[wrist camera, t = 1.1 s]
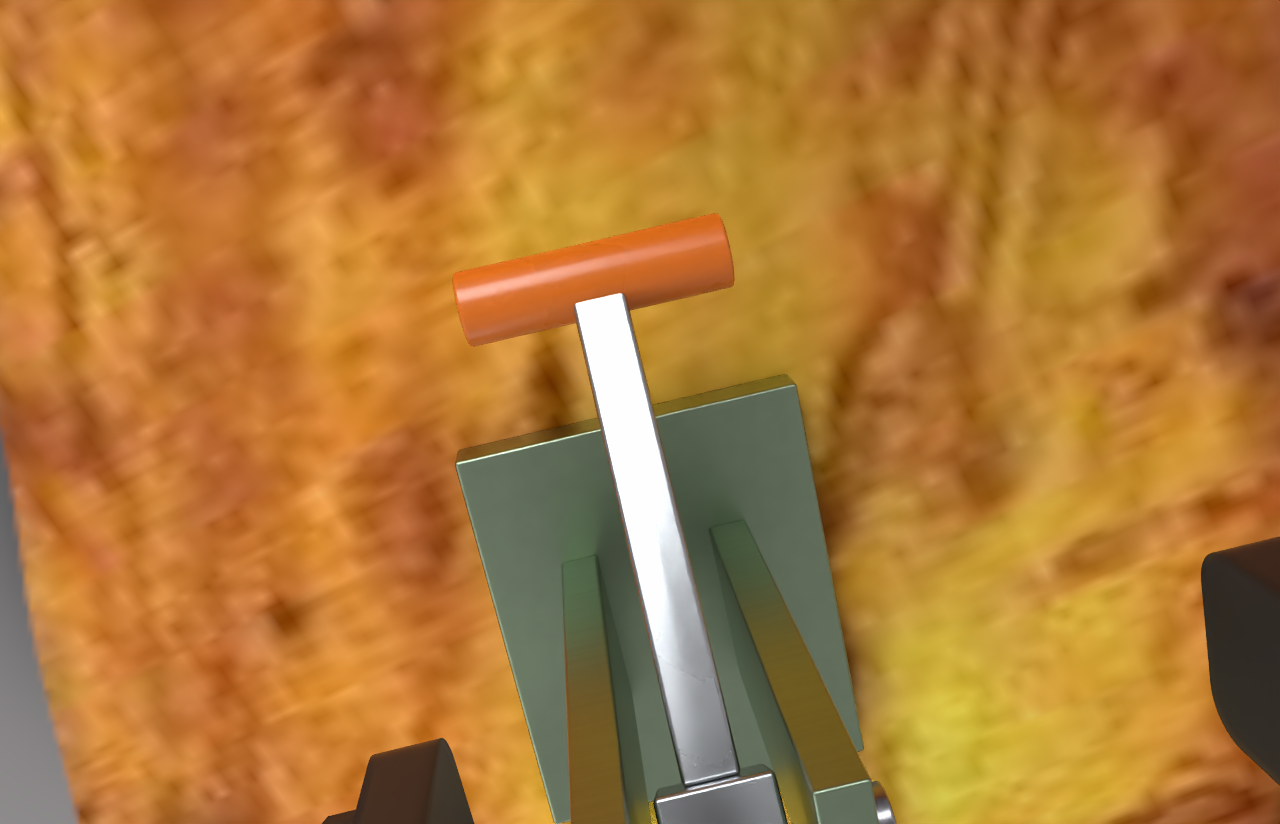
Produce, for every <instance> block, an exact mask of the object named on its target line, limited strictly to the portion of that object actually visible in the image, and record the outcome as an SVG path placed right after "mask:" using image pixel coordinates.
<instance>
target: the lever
mask: <svg viewBox="0 0 1280 824" xmlns="http://www.w3.org/2000/svg"><path fill="white" fill-rule="evenodd" d="M733 285H734V267H733V260H732V255H731V250H730V245H729V241H728V237H727V233H726V230H725V227H724V224H723V221H722V219H721V217H720V216H719V214H717V213H713V214H709V215H704V216H700V217H696V218H691V219H687V220H682V221H678V222H674V223H669V224H665V225H661V226H656V227H652V228H648V229H643V230H639V231H635V232H630V233H626V234H622V235H617V236H613V237H608V238H604V239H600V240H595V241H591V242H587V243H582V244H578V245H574V246H569V247H565V248H561V249H556V250H552V251H547V252H543V253H539V254H534V255H530V256H526V257H521V258H517V259H513V260H508V261H504V262H500V263H495V264H491V265H486V266H482V267H478V268H473V269H469V270H465V271H460V272H456V273H455V274H453V289H454V295H455V300H456V305H457V309H458V313H459V317H460V321H461V324H462V327H463V331H464V333H465V336H466V339H467V341H468V343H469V344H470V346H473V347H474V346H479V345H483V344H487V343H492V342H496V341H500V340H505V339H509V338H513V337H518V336H522V335H526V334H531V333H535V332H539V331H543V330H548V329H552V328H556V327H561V326H565V325H569V324H574V323H577V328H578V332H579V337H580V341H581V345H582V350H583V354H584V358H585V363H586V367H587V372H588V376H589V380H590V385H591V389H592V393H593V398H594V402H595V407H596V411H597V415H598V420H599V424H600V428H601V433H602V437H603V442H604V446H605V450H606V455H607V459H608V463H609V468H610V472H611V476H612V481H613V485H614V490H615V494H616V498H617V503H618V507H619V511H620V516H621V520H622V525H623V529H624V533H625V538H626V542H627V546H628V551H629V555H630V560H631V564H632V568H633V573H634V577H635V581H636V586H637V590H638V595H639V599H640V603H641V608H642V612H643V616H644V621H645V625H646V630H647V634H648V638H649V643H650V647H651V651H652V656H653V660H654V665H655V669H656V673H657V678H658V682H659V686H660V691H661V695H662V700H663V704H664V708H665V713H666V717H667V721H668V726H669V730H670V735H671V739H672V743H673V748H674V752H675V756H676V761H677V765H678V770H679V774H680V778H681V783H678V784H674V785H670V786H665V787H661V788H659V789H658V790H657V791H656V795H655V798H654V803H653V804H654V809H655V813H656V818H657V822H658V824H788V823H787V819H786V815H785V811H784V807H783V803H782V799H781V795H780V791H779V787H778V783H777V778H776V774H775V773H774V772H773V771H772V770H771V769H770V768H769V767H767V766H766V765H765V764H757V765H753V766H749V767H745V768H740V765H739V761H738V756H737V752H736V748H735V744H734V740H733V736H732V732H731V728H730V723H729V719H728V715H727V711H726V707H725V703H724V699H723V694H722V690H721V686H720V682H719V678H718V674H717V670H716V666H715V661H714V657H713V653H712V649H711V645H710V641H709V637H708V632H707V628H706V624H705V620H704V616H703V612H702V608H701V603H700V599H699V595H698V591H697V587H696V583H695V579H694V575H693V570H692V566H691V562H690V558H689V554H688V550H687V546H686V541H685V537H684V533H683V529H682V525H681V521H680V517H679V513H678V508H677V504H676V500H675V496H674V492H673V488H672V484H671V479H670V475H669V471H668V467H667V463H666V459H665V455H664V450H663V446H662V442H661V438H660V434H659V430H658V426H657V422H656V417H655V413H654V409H653V405H652V401H651V397H650V393H649V388H648V384H647V380H646V376H645V372H644V368H643V364H642V359H641V355H640V351H639V347H638V343H637V339H636V335H635V331H634V326H633V322H632V318H631V314H630V310H634V309H639V308H643V307H647V306H652V305H656V304H660V303H665V302H669V301H673V300H678V299H682V298H686V297H691V296H695V295H699V294H704V293H708V292H712V291H717V290H721V289H725V288H730V287H732V286H733Z"/></svg>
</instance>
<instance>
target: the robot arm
mask: <svg viewBox="0 0 1280 824" xmlns="http://www.w3.org/2000/svg"><path fill="white" fill-rule="evenodd" d="M1201 584H1202V595H1203V606H1204V617H1205V627H1206V638H1207V649H1208V660H1209V671H1210V682H1211V690H1212V695H1213V699H1214V702H1215V705H1216V708H1217V711H1218V714H1219V716H1220V718H1221V720H1222V722H1223V724H1224V726H1225V728H1226V730H1227V732H1228V733H1229V735H1230V736H1231V738H1232V739H1233V740H1234V742H1235V743H1236V744H1237V745H1238V747H1239V748H1240V749H1241V750H1242V751H1243V752H1244V753H1246V754H1247V755H1248V756H1249V757H1250V758H1251V759H1252V760H1253V761H1254V762H1255V763H1256V764H1257V765H1258V766H1260V767H1261V768H1262V769H1263V770H1264V771H1265V772H1266V773H1267V774H1268V775H1269V776H1270V777H1271V778H1272V779H1273V780H1275V781H1276V782H1277V783H1278V784H1279V785H1280V537H1275V538H1271V539H1267V540H1263V541H1259V542H1255V543H1251V544H1247V545H1243V546H1238V547H1234V548H1230V549H1226V550H1222V551H1218V552H1214V553H1211V554H1209V555H1207V556H1206V558H1205V559H1204V561H1203V564H1202V569H1201ZM322 824H474V821H473V818H472V815H471V812H470V808H469V805H468V802H467V799H466V795H465V792H464V789H463V786H462V782H461V779H460V776H459V773H458V769H457V766H456V763H455V760H454V757H453V754H452V751H451V749H450V747H449V745H448V743H447V742H446V740H445V739H443V738H440V739H436V740H432V741H428V742H423V743H419V744H415V745H411V746H407V747H403V748H399V749H395V750H390V751H386V752H382V753H378V754H374V755H372V756H371V758H370V760H369V763H368V766H367V770H366V774H365V778H364V782H363V785H362V789H361V793H360V797H359V801H358V804H357V808H356V810H353V811H348V812H344V813H340V814H336V815H332V816H328V817H327V818H326V819H325V821H324V822H323V823H322Z"/></svg>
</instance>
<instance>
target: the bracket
mask: <svg viewBox="0 0 1280 824" xmlns="http://www.w3.org/2000/svg"><path fill="white" fill-rule="evenodd" d="M653 409H654V413H655V417H656V422H657V426H658V430H659V434H660V438H661V442H662V446H663V450H664V455H665V459H666V463H667V467H668V471H669V475H670V479H671V484H672V488H673V492H674V496H675V500H676V504H677V508H678V513H679V517H680V521H681V525H682V529H683V533H684V537H685V541H686V546H687V550H688V554H689V558H690V562H691V566H692V570H693V575H694V579H695V583H696V587H697V591H698V595H699V599H700V603H701V608H702V612H703V616H704V620H705V624H706V628H707V632H708V637H709V641H710V645H711V649H712V653H713V657H714V661H715V666H716V670H717V674H718V678H719V682H720V686H721V690H722V694H723V699H724V703H725V707H726V711H727V715H728V719H729V723H730V728H731V732H732V736H733V740H734V744H735V748H736V752H737V756H738V761H739V765H740V768H745V767H749V766H753V765H757V764H765V765H766V766H767V767H769V768H770V769H771V770H772V771H773V772H774V773H775V774H776V778H777V782H778V785H779V788H780V791H781V794H782V797H783V799H784V802H785V805H786V808H787V811H788V814H789V817H790V820H791V823H792V824H897V823H896V819H895V816H894V813H893V810H892V807H891V804H890V801H889V798H888V796H887V794H886V791H885V789H884V787H883V786H882V784H881V783H880V782H879V781H874V782H871V779H870V777H869V775H868V773H867V771H866V768H865V766H864V764H863V762H862V760H861V758H860V756H859V754H858V752H860V751H862V750H863V749H864V745H863V740H862V734H861V729H860V724H859V718H858V713H857V708H856V702H855V697H854V691H853V686H852V681H851V675H850V670H849V665H848V659H847V654H846V648H845V643H844V638H843V632H842V627H841V622H840V616H839V611H838V606H837V600H836V595H835V589H834V584H833V579H832V573H831V568H830V563H829V557H828V552H827V546H826V541H825V536H824V530H823V525H822V520H821V514H820V509H819V503H818V498H817V493H816V487H815V482H814V477H813V471H812V466H811V460H810V455H809V450H808V444H807V439H806V434H805V428H804V423H803V417H802V412H801V407H800V401H799V396H798V391H797V386H796V384H795V383H794V382H793V381H792V380H791V378H790V377H789V376H788V375H786V374H783V375H779V376H775V377H770V378H766V379H762V380H757V381H753V382H749V383H745V384H740V385H736V386H732V387H727V388H723V389H719V390H714V391H710V392H706V393H702V394H697V395H693V396H689V397H684V398H680V399H676V400H672V401H667V402H663V403H659V404H654V405H653ZM455 467H456V471H457V475H458V478H459V482H460V485H461V489H462V493H463V496H464V500H465V503H466V507H467V511H468V514H469V518H470V521H471V525H472V529H473V532H474V536H475V540H476V543H477V547H478V550H479V554H480V558H481V561H482V565H483V568H484V572H485V576H486V579H487V583H488V586H489V590H490V594H491V597H492V601H493V604H494V608H495V612H496V615H497V619H498V622H499V626H500V630H501V633H502V637H503V641H504V644H505V648H506V651H507V655H508V659H509V662H510V666H511V669H512V673H513V677H514V680H515V684H516V687H517V691H518V695H519V698H520V702H521V705H522V709H523V713H524V716H525V720H526V723H527V727H528V731H529V734H530V738H531V742H532V745H533V749H534V752H535V756H536V760H537V763H538V767H539V770H540V774H541V778H542V781H543V785H544V788H545V792H546V796H547V799H548V803H549V806H550V810H551V814H552V817H553V821H554V823H555V824H560V823H564V822H568V821H571V824H652V823H651V816H650V810H649V803H648V802H651V801H654V798H655V795H656V791H657V790H658V789H659V788H661V787H665V786H670V785H674V784H678V783H681V778H680V774H679V770H678V765H677V761H676V756H675V752H674V748H673V743H672V739H671V735H670V730H669V726H668V721H667V717H666V713H665V708H664V704H663V700H662V695H661V691H660V686H659V682H658V678H657V673H656V669H655V665H654V660H653V656H652V651H651V647H650V643H649V638H648V634H647V630H646V625H645V621H644V616H643V612H642V608H641V603H640V599H639V595H638V590H637V586H636V581H635V577H634V573H633V568H632V564H631V560H630V555H629V551H628V546H627V542H626V538H625V533H624V529H623V525H622V520H621V516H620V511H619V507H618V503H617V498H616V494H615V490H614V485H613V481H612V476H611V472H610V468H609V463H608V459H607V455H606V450H605V446H604V442H603V437H602V433H601V428H600V424H599V420H598V418H594V419H590V420H586V421H581V422H577V423H573V424H568V425H564V426H560V427H556V428H551V429H547V430H543V431H538V432H534V433H530V434H526V435H521V436H517V437H513V438H508V439H504V440H500V441H495V442H491V443H487V444H483V445H478V446H474V447H470V448H465V449H461V450H459V451H458V454H457V458H456V462H455Z"/></svg>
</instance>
